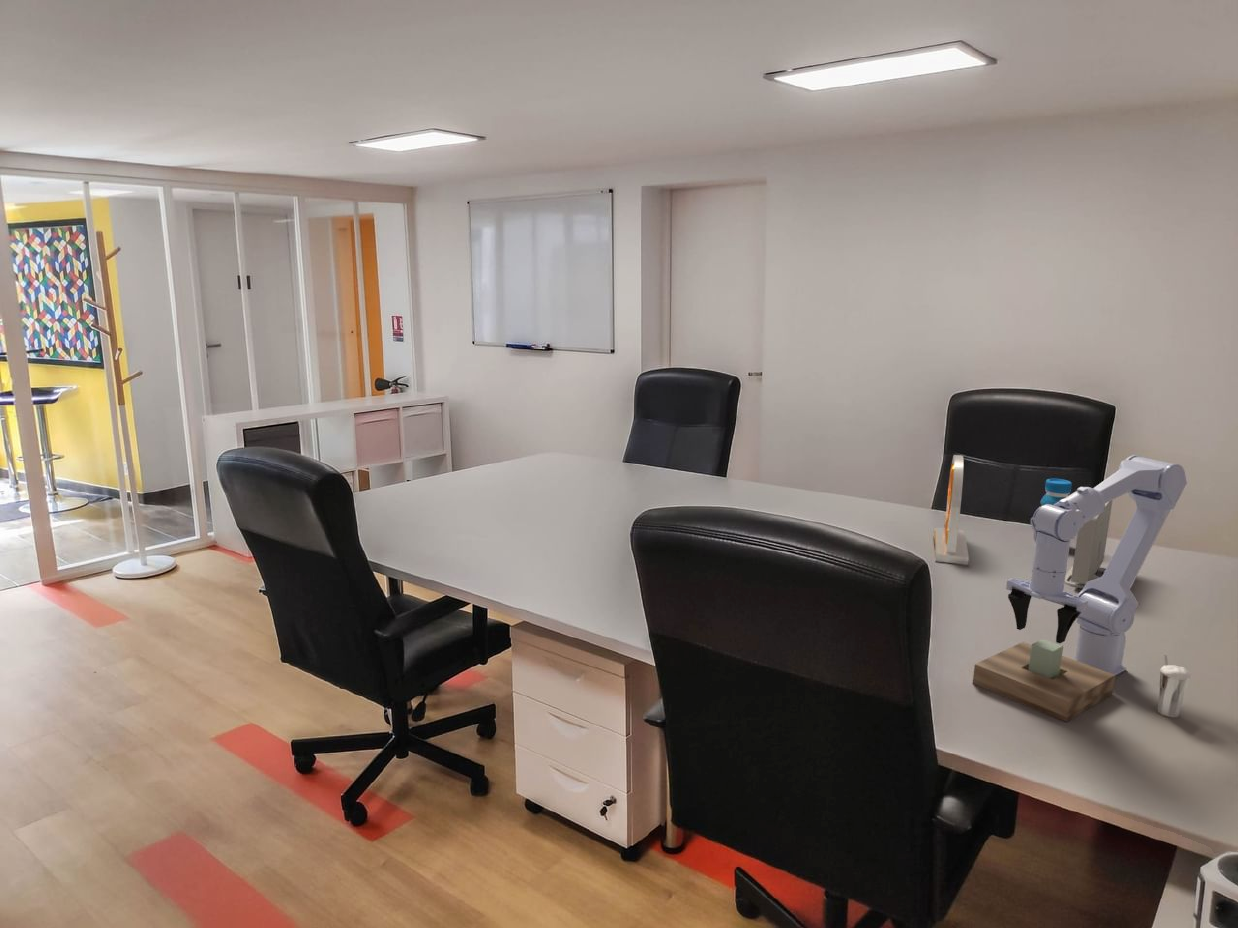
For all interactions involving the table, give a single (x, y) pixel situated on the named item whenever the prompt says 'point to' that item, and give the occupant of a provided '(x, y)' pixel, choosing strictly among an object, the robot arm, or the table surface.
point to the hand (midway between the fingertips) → (1040, 634)
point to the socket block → (1044, 683)
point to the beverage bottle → (1055, 491)
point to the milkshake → (1172, 689)
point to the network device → (1090, 549)
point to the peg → (1045, 659)
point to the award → (952, 521)
